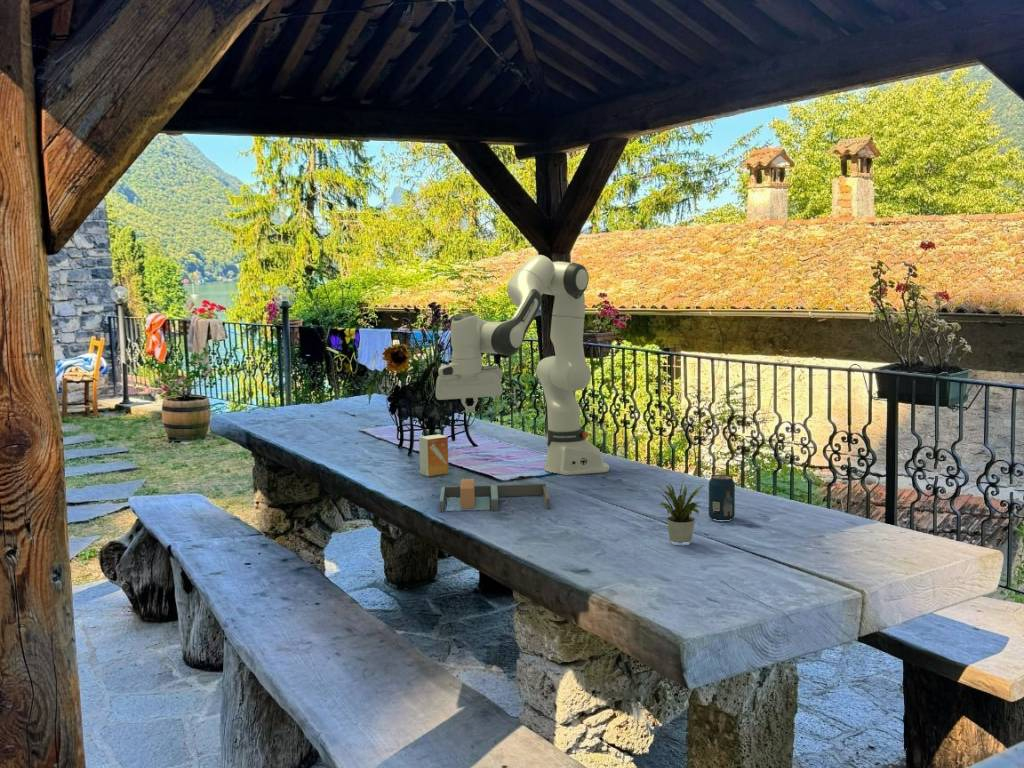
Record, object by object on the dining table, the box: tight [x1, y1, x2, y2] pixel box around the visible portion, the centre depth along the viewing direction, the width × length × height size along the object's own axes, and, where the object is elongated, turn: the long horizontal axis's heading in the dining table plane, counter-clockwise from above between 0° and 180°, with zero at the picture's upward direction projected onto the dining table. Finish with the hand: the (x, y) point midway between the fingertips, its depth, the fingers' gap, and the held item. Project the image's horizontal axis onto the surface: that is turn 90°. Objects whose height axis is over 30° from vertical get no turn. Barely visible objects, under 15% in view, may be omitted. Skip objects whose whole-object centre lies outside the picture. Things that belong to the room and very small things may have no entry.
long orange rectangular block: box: [459, 478, 475, 509], centre depth 276 cm, size 4×12×6 cm, turn 2°
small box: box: [418, 433, 450, 477], centre depth 318 cm, size 8×6×13 cm
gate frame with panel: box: [439, 483, 551, 512], centre depth 277 cm, size 32×17×4 cm, turn 92°
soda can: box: [708, 474, 736, 520], centre depth 253 cm, size 7×7×12 cm
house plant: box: [649, 479, 705, 543], centre depth 233 cm, size 14×14×16 cm
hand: (470, 412), depth 280 cm, fingers closed
